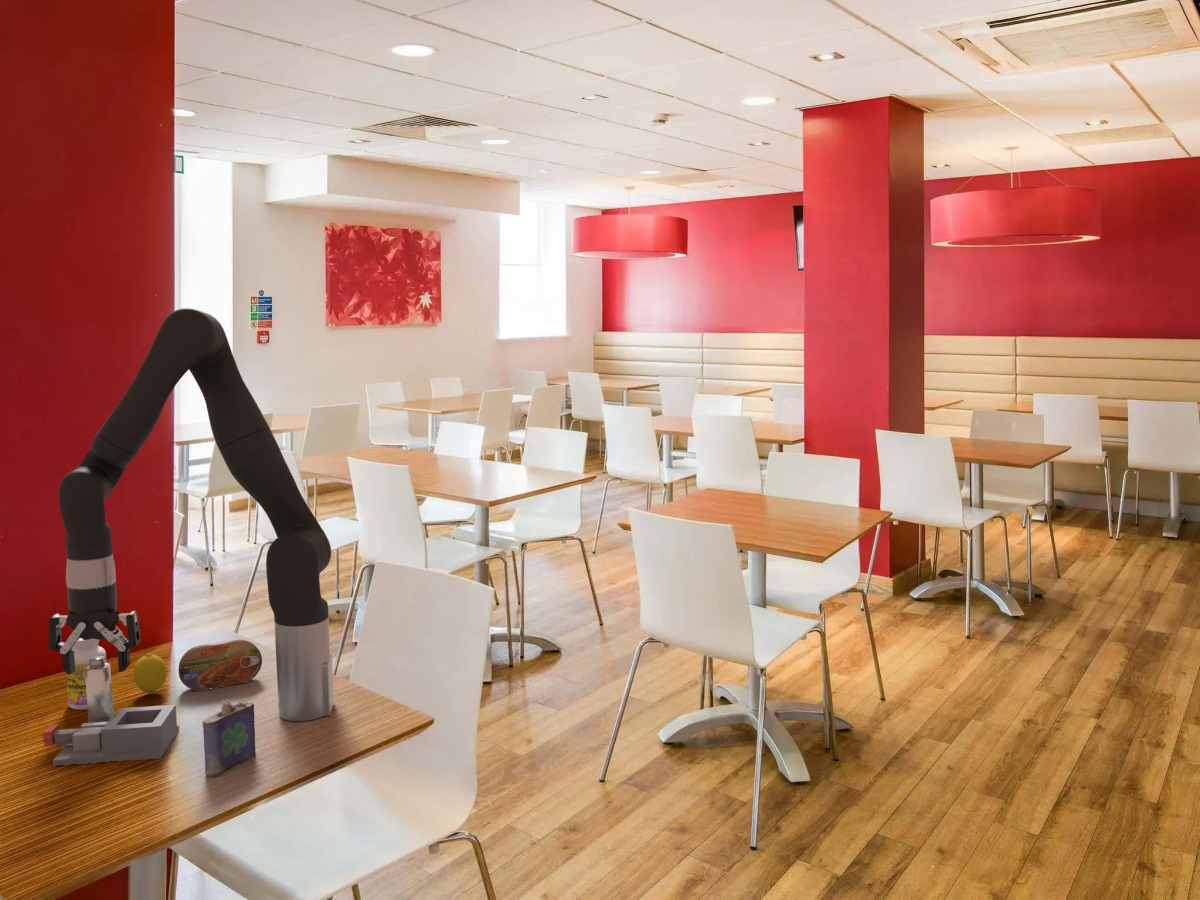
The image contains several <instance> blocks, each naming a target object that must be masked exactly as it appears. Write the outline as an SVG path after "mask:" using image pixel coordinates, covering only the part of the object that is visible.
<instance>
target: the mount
mask: <svg viewBox="0 0 1200 900" xmlns="http://www.w3.org/2000/svg"><path fill="white" fill-rule="evenodd" d="M177 719H178V718H177V705H176V704H168V705H166V704H165V705H153V706H151V705H150V706H136V707H122V708H119V707H118V709H117V710H116V712H114V715H113V716H112V718H111V719H110V720H109V721H108V722H95V723H89V722H85V723H82V725H81V726H80V728H92V727H103V728H102V729H101V731H92V732H78V733H74V735H73V744H65V746H64V747H63V748H62V750H61V751H60V752H59V753H58V754H57V755H56V756H55V757H54V759H52V763H53V767H57V766H56V765H64V766H69V765H68V764H78V765H89V764H88V763H91V764H99V763H98V762H105V763H111V762H110V761H118V762H122V761H121V760H132V761H142V760H143V761H144V760H157V759H158V760H159V759H162V758H163V757H164V755H165V753H166V752H167V750H168V748H169V747H170V745H171V743H172V742H173V740H174V739H175V737H176V736H177V734H178V733H179V730H180V728H179V727H180V726H179V724H177V723H178V722H177ZM96 762H97V763H96Z"/></svg>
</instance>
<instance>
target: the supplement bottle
mask: <svg viewBox="0 0 1200 900" xmlns="http://www.w3.org/2000/svg"><path fill="white" fill-rule="evenodd" d="M99 642H100V640H97V639H90V640H83V639H82V638H80V639H79V640H78V641H77V642H76V643H75V645H74V646H73V647H72V650H74V658H75V671H74V672H73V673H72V674H66V673H65V676H66V677H65V678H66V688H67V689H66V690H67V691H66V692H67V702H68V707H69V708H70V709H73V710H77V711H78V710H81V711H83V710H85V711H86V710H88V708H87V695H86V682H85V669H84V668H85V667H87V666H89V659H90V658H92V657H96V656H103V657H105V663H107V652H106V650H105V648H103V647H102V646H99Z"/></svg>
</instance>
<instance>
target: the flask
mask: <svg viewBox="0 0 1200 900" xmlns="http://www.w3.org/2000/svg"><path fill="white" fill-rule="evenodd" d="M219 704H222V707H221V710H220V711H218V712H217V713H214V714H213V715H211V716H208V717H206V718H205V719H203V720H202V730H203V733H202V734H203V750H204V767H205V768H204V774H205V776H206V777H207V778H211V779H213V778H214V777H219V776H222V775H224V773H227V772H230V771H232V770H234V769H235V768H237V767H238V766H239V765H243V764H244V763H246V762H249V761H251V760H254V759H256V758H257V754H256V753H257V752H256V731H255V730H256V728H255V715H256V714H255V704H254V703H252V702H249V701H244V702H242V701H240V702H238V703H235V704H232V702H231V701H230V699H227V698H224V699H222V700H221V701H220V702H219Z"/></svg>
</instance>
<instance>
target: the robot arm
mask: <svg viewBox="0 0 1200 900" xmlns="http://www.w3.org/2000/svg"><path fill="white" fill-rule="evenodd" d="M188 371H190V373H191V375H192V377H193V379H194V380H195V382H196V384H197V385H198V388H199V389H200V391H201V394H202V396H203V399H204V403H205V407H206V410H207V416H208V419H209V425H210V429H211V432H212V435H213V436H212V437H213V438H214V441H215V445H216V446H217V449H218V450H219V453H220V454H221V457H222V458H223V461H224V463H225V465H226V467H227V468H228V470H229V472H230V474H231V476H233V478H234V479H235V481H236V482H237V483H238V484H239V486H241V487H242V489H243V490H244V491H246V492H247V494H249V495H250V496H251V497H252V498H253V499H254V500H255V502H257V504H258V505H259V506H260V507H261V509H263V511H264V513H265V515H266V516H267V517H268V519H269V521H270V523H271V526H272V528H273V530H274V532H275V535H276V538H275V539H274V540H273V541H272V542H271V544H269V546H268V550H267V551H266V552H267V553H266V559H265V569H266V571H265V572H266V582H267V592H268V593H267V594H268V602H269V606H270V608H271V610H272V612H273V618H274V619H273V620H274V635H275V636H274V641H275V660H276V680H277V684H276V685H277V698H278V699H277V701H278V702H277V703H278V704H277V706H278V715H279V717H280V718H281V719H283V720H285V721H292V722H305V721H312V720H316V719H319V718H322V717H329V716H331V715H332V711H333V708H334V704H335V698H334V697H335V695H334V672H333V671H334V669H333V668H334V667H333V654H332V653H331V646H330V645H331V643H330V638H331V637H330V621H329V620H330V619H329V618H330V617H329V616H330V615H329V605H328V601H327V600H326V599H324V598H323V597H322V594H321V582H320V581H321V580H320V574H321V573H322V572H323V571H325V569H326V568H327V567H328V566H329V564H330V561H331V558H332V548H331V547H332V546H331V543H330V541H329V539H328V536H327V534H326V533H325V531H324V530H323V527H322V526H321V524H320V523H319V521H318V520H317V518H316V517H315V515H314V514H313V512H312V510H311V509H310V507H309V505H308V504H307V503H306V500H305V498H304V497H303V494H302V493H301V491H300V490H299V488H298V485H297V483H296V480H295V478H294V476H293V474H292V471H291V470H290V467H289V466H288V464H287V462H286V460H285V457H284V455H283V453H282V451H281V448H280V447H279V444H278V442H277V440H276V438H275V436H274V434H273V431H272V430H271V428H270V425H269V424H268V422H267V420H266V418H265V417H264V415H263V413H262V411H261V409H260V407H259V405H258V403H257V401H256V400H255V398H254V397H253V395H252V393H251V391H250V389H249V388H248V386H247V384H246V382H245V381H244V379H243V377H242V375H241V373H240V370H239V367H238V365H237V362H236V359H235V357H234V355H233V352H232V348H231V347H230V343H229V340H228V338H227V335H226V331H225V329H224V328H223V326H222V324H221V323H220V322H219V320H218V319H217V318H216V317H214V316H213V315H211V314H210V313H207V312H205V311H202V310H200V309H196V308H192V307H191V308H190V307H184V308H183V307H181V308H179V309H176V310H174V311H172V312H170V313H169V314H168V315H166V317H165V318H164V319H163V322H162V324H161V326H160V328H159V330H158V332H157V334H156V336H155V338H154V341H153V343H152V344H151V347H150V349H149V351H148V353H147V355H146V357H145V359H144V361H143V363H142V365H141V366H140V368H139V370H138V371H137V373H136V376H135V377H134V379H133V380H132V382H131V384H130V385H129V387H128V388H127V390H126V392H125V393H124V395H123V396H122V397H121V398H120V400H119V402H118V403H117V405H116V406H115V407H114V408H113V410H112V412H110V414H109V416H108V417H107V418H106V420H104V421H105V422H104V423H103V424H102V425H101V427H100V428H99V429H98V431H97V433H96V434H95V436H94V438H93V440H92V442H91V443H90V444H91V445H90V446H91V448H89V449H88V451H87V453H86V454H85V455H84V457H83V459H82V460H81V461H80V462H79V464H78V465H77V466H76V467H75V469H73V470H72V471H70V472H68V473H67V474H65V475H64V476H63V477H62V479H61V480H60V482H59V484H58V485H59V486H58V492H57V493H58V496H57V497H58V504H59V505H58V506H59V510H60V515H61V520H62V524H63V527H64V530H65V546H66V547H65V548H66V566H65V567H66V568H65V575H66V576H65V584H66V590H67V592H66V593H67V595H66V596H67V607H68V615H62V614H61V613H55V614H53V615H52V616H51V617H50V618H49V619H48V627H47V628H48V629H47V630H48V635H47V636H48V637H47V638H48V647H47V649H48V650H49V651H50V652H53V651H54V652H59V653H60V655H61V664H62V665H61V667H62V670H63V672H65V675H66V674H72V673H73V672H74V671H75V658H74V650H72V647H73V646H74V645H75V643H76V642H77V641H78V640H79V639H80V638H82V639H83V640H90V639H97V640H99V641H101V640H103V639H106V641H108V642H109V643H111V644H112V645H113V646H114V647H116V649H117V650H118V652H117V665H118V672H119V673H124V672H125V671H126V670H127V668H128V667H129V666H130V664H131V654H130V652H131V651H130V649H132V648H133V649H134V648H136V647H137V646H138V645H139V643H141V639H142V637H141V631H140V623H139V616H138V615H139V614H138V612H137V611H136V610H131V612H126V613H124V612H123V613H120V612H119V610H118V594H117V592H118V591H117V579H116V563H115V560H114V553H113V552H114V551H113V549H114V548H113V537H112V536H113V535H112V529H111V525H110V524H109V523H108V522H107V520H106V510H105V509H106V508H105V501H106V500H107V499H108V497H109V496H110V495H111V493H112V492H113V491H114V489H115V487H117V484H118V482H119V481H120V480H121V478H122V476H123V474H124V473H125V471H126V468H127V466H128V465H129V464H130V462H131V461H132V460H133V459H135V457H136V455H137V454H138V453H139V451H140V450H141V448H142V447H143V446H144V444H145V443H146V441H147V440H148V438H149V437H150V435H152V434H151V433H152V432H153V430H154V429H155V426H157V423H158V421H159V419H160V417H161V415H162V412H163V410H164V408H165V405H166V403H167V401H168V398H170V395H171V393H172V391H173V390H174V389H175V387H176V386H177V384H178V383H179V382H180V380H181V379H182V378H183V376H185V374H186V373H187V372H188ZM120 621H121V622H122V624H123V626H125V627H126V630H127V636H128V639H127V637H125V635H124V634H123V631H122V630H121V629H120V628H119V627H118V626H117V625H118V623H119V622H120ZM66 624H67V625H68V627H70V629H72V632H71V634H70V635H69V636H68V638H67V639H66V641H65V642H63V641H62V628H63V627H65V625H66Z"/></svg>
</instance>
